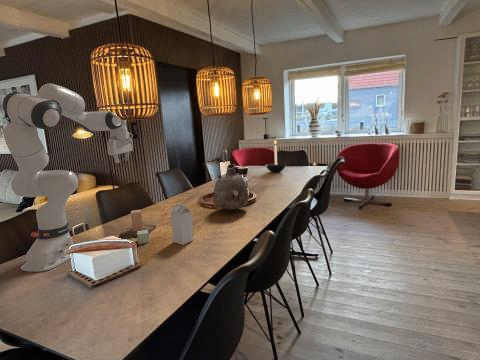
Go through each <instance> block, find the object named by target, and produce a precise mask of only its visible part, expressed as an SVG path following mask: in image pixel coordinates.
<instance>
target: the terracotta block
mask: <svg viewBox="0 0 480 360" xmlns="http://www.w3.org/2000/svg"><path fill="white" fill-rule="evenodd" d="M130 214H131V215H130V217H131V223H132V224H131V225H133V232H134V231H141V230H143V225H144V224H143V216H142V210H141V209H135V210H130Z"/></svg>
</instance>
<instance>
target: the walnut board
mask: <svg viewBox="0 0 480 360" xmlns="http://www.w3.org/2000/svg"><path fill="white" fill-rule="evenodd" d="M156 228H157V225H156V224H143V230H148V235H150V234H151V233H152V232H153V231H154V230H155V229H156ZM141 231H142V230H141ZM118 236H119V238H138V235H137V231H134V232H133V225H132V224H131V225H130V226H128V227H127V228H126V229H124V230H122V231H121V232H120V233H119V235H118Z"/></svg>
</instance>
